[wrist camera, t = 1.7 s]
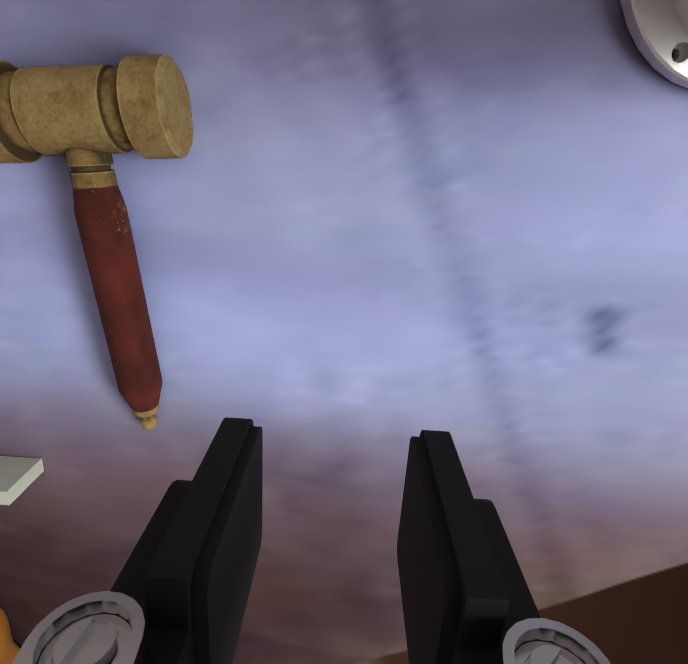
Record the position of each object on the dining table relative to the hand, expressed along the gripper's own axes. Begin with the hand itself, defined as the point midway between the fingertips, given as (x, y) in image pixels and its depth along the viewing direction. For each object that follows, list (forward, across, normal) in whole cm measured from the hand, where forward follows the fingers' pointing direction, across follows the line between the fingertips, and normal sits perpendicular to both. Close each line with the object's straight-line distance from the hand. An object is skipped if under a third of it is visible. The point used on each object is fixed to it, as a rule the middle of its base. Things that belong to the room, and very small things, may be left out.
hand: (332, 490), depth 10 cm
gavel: (+20, +13, 0) cm, 24 cm away
